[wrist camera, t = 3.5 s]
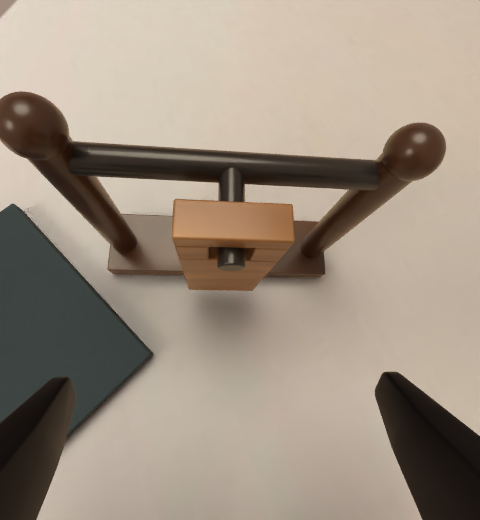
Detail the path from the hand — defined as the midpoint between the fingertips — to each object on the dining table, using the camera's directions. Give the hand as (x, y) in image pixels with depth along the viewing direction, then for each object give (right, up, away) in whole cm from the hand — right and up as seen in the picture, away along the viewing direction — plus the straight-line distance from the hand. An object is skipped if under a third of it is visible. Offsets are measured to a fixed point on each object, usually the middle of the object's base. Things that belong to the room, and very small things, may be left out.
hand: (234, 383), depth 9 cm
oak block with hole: (-1, +2, +10) cm, 10 cm away
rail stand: (-1, +3, +13) cm, 13 cm away
